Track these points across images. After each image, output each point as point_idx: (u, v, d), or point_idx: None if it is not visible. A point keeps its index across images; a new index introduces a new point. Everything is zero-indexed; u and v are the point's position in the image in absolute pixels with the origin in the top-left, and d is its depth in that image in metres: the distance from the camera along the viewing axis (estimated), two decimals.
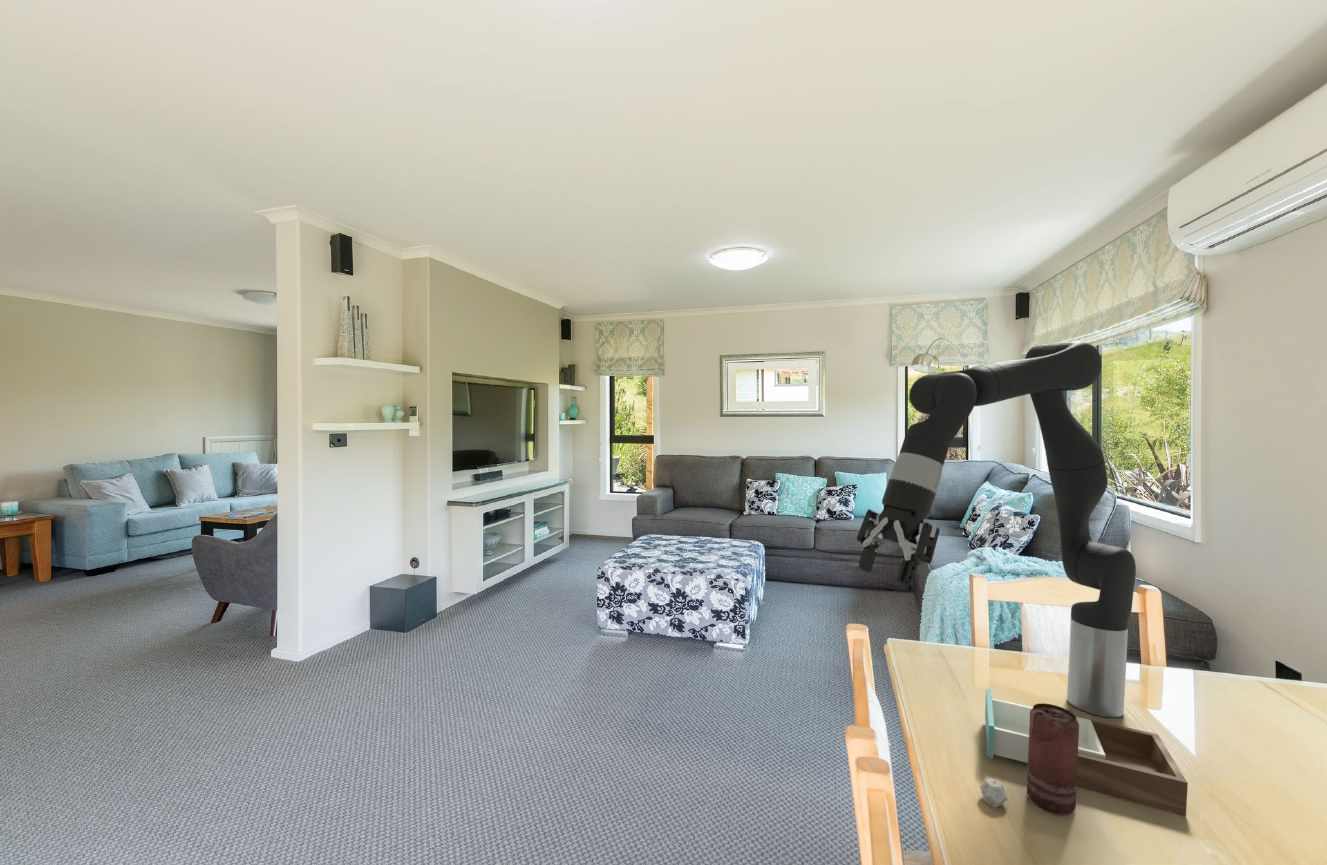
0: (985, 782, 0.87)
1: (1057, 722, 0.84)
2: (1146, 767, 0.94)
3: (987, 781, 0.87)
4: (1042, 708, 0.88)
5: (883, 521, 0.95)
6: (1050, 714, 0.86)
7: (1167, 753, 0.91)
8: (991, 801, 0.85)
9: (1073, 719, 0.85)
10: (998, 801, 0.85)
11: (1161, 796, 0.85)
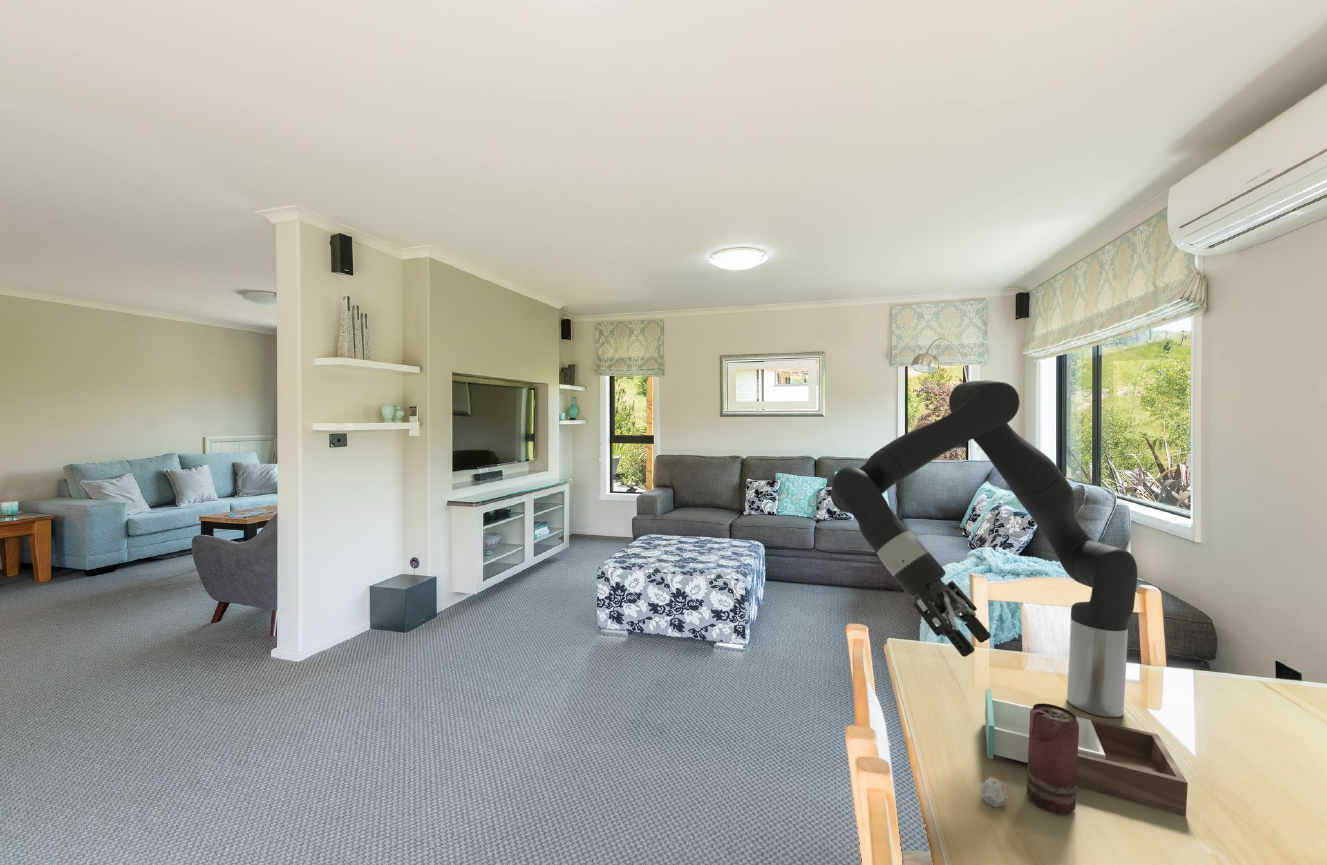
0: (985, 782, 0.87)
1: (1057, 722, 0.84)
2: (1146, 767, 0.94)
3: (987, 781, 0.87)
4: (1042, 708, 0.88)
5: None
6: (1050, 714, 0.86)
7: (1167, 753, 0.91)
8: (991, 801, 0.85)
9: (1073, 719, 0.85)
10: (998, 801, 0.85)
11: (1161, 796, 0.85)
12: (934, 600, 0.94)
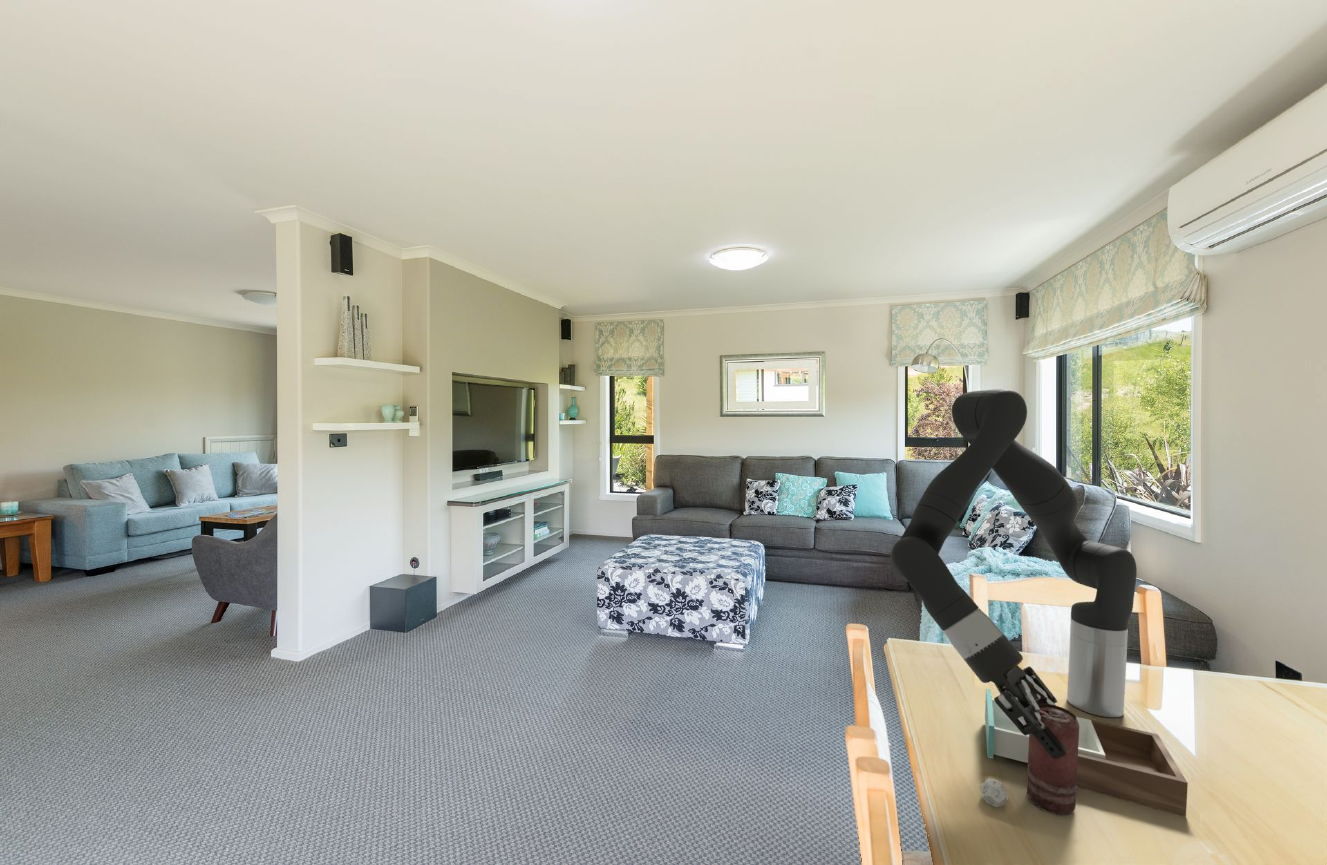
0: (985, 782, 0.87)
1: (1057, 722, 0.84)
2: (1146, 767, 0.94)
3: (987, 781, 0.87)
4: (1042, 708, 0.88)
5: None
6: (1050, 714, 0.86)
7: (1167, 753, 0.91)
8: (991, 801, 0.85)
9: (1073, 719, 0.85)
10: (998, 801, 0.85)
11: (1161, 796, 0.85)
12: (1014, 692, 0.86)
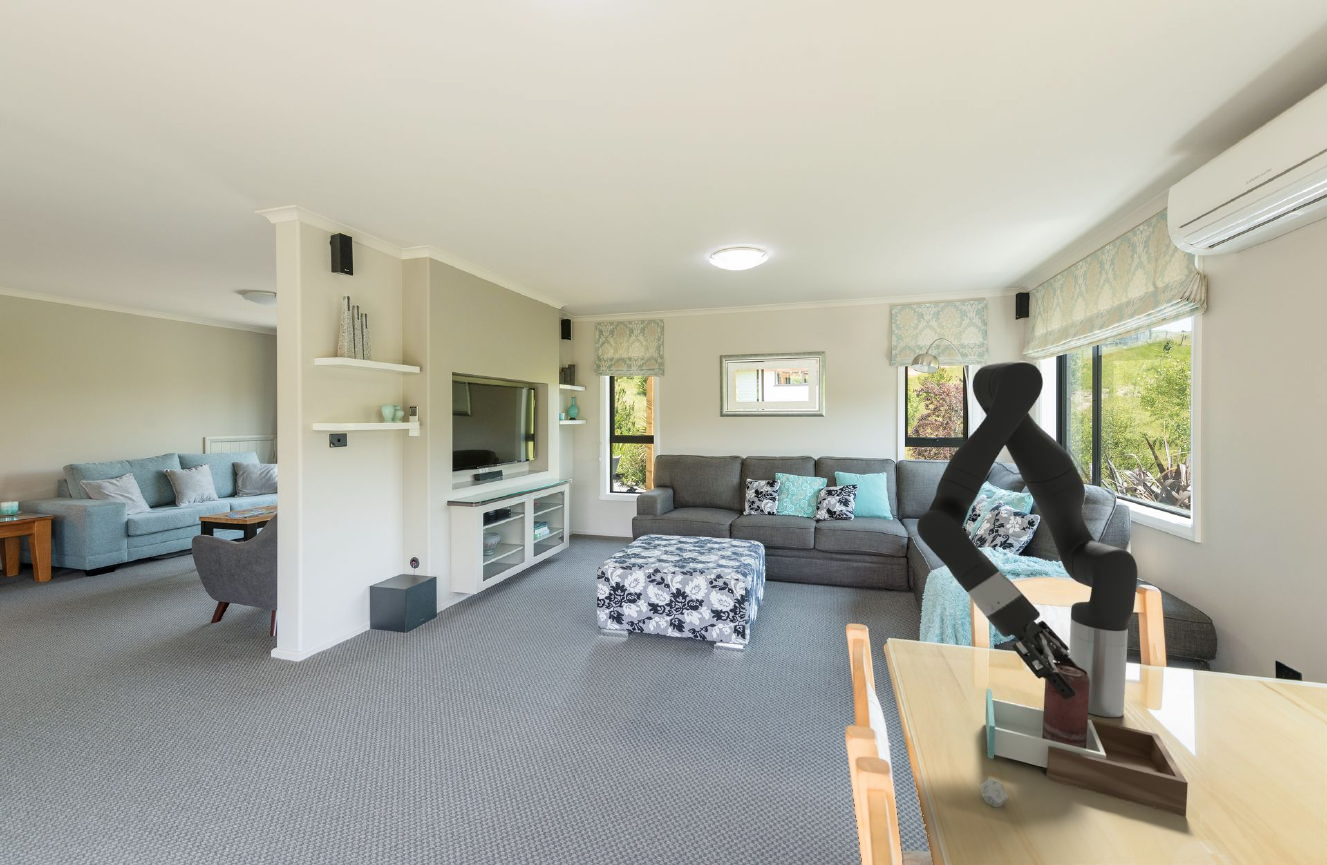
0: (985, 782, 0.87)
1: (1070, 676, 0.94)
2: (1146, 767, 0.94)
3: (987, 781, 0.87)
4: (1056, 666, 0.99)
5: None
6: (1064, 670, 0.97)
7: (1167, 753, 0.91)
8: (991, 801, 0.85)
9: (1084, 674, 0.96)
10: (998, 801, 0.85)
11: (1161, 796, 0.85)
12: (1033, 643, 0.97)
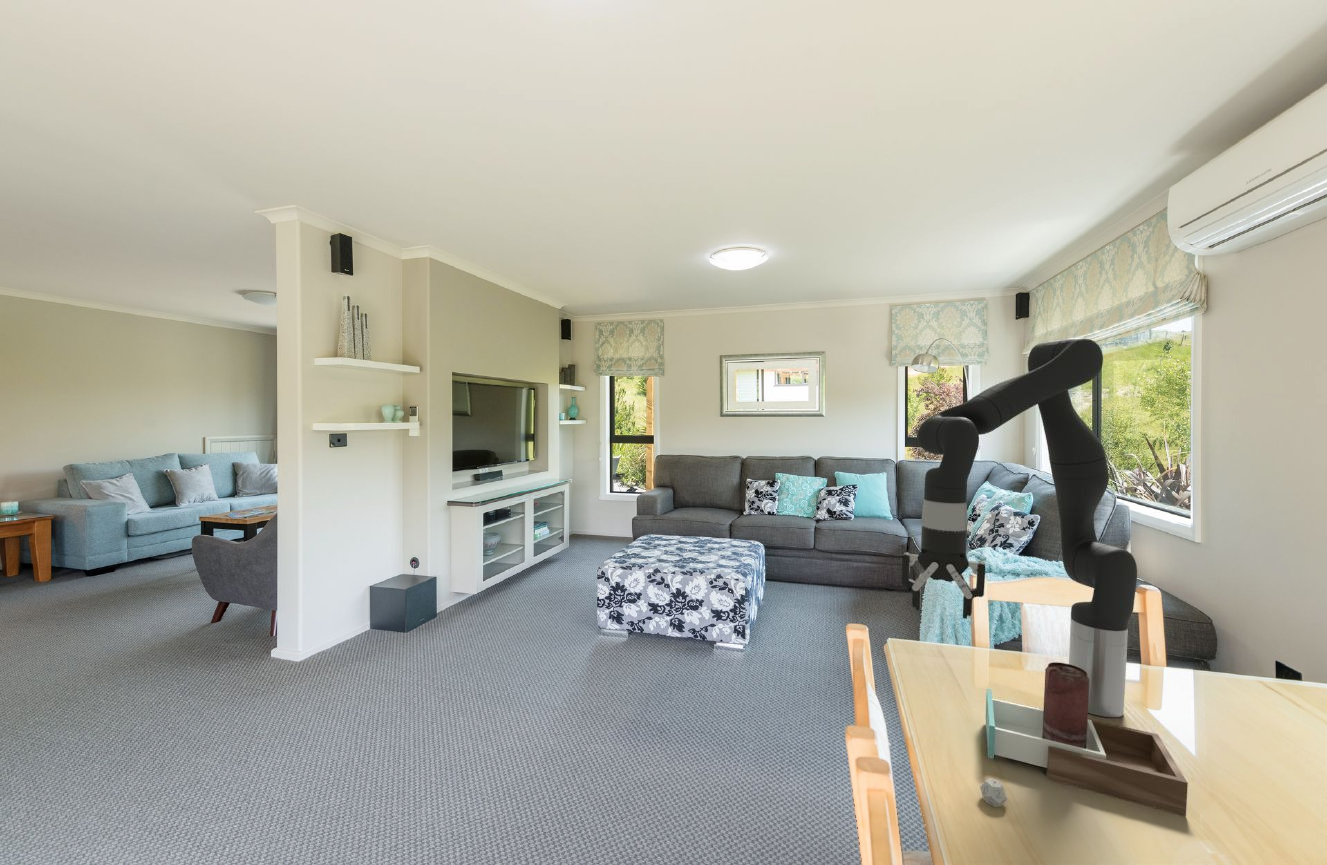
0: (985, 782, 0.87)
1: (1070, 677, 0.94)
2: (1146, 767, 0.94)
3: (987, 781, 0.87)
4: (1056, 666, 0.99)
5: (932, 566, 1.04)
6: (1064, 670, 0.97)
7: (1167, 753, 0.91)
8: (991, 801, 0.85)
9: (1084, 674, 0.96)
10: (999, 801, 0.85)
11: (1161, 796, 0.85)
12: None
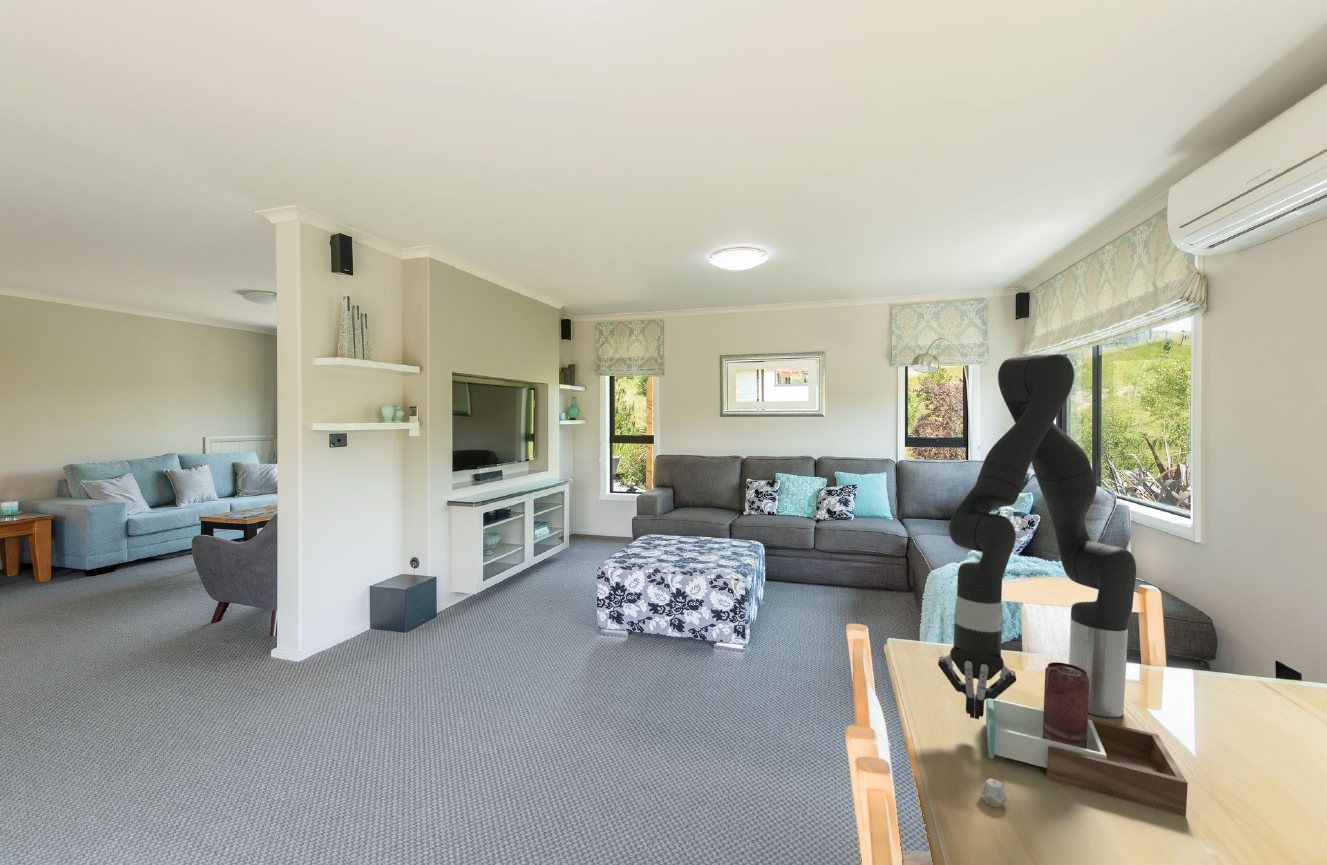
0: (985, 782, 0.87)
1: (1070, 677, 0.94)
2: (1146, 767, 0.94)
3: (987, 781, 0.87)
4: (1056, 666, 0.99)
5: (967, 665, 1.02)
6: (1063, 670, 0.97)
7: (1167, 753, 0.91)
8: (992, 801, 0.85)
9: (1084, 674, 0.96)
10: (999, 801, 0.85)
11: (1161, 796, 0.85)
12: None
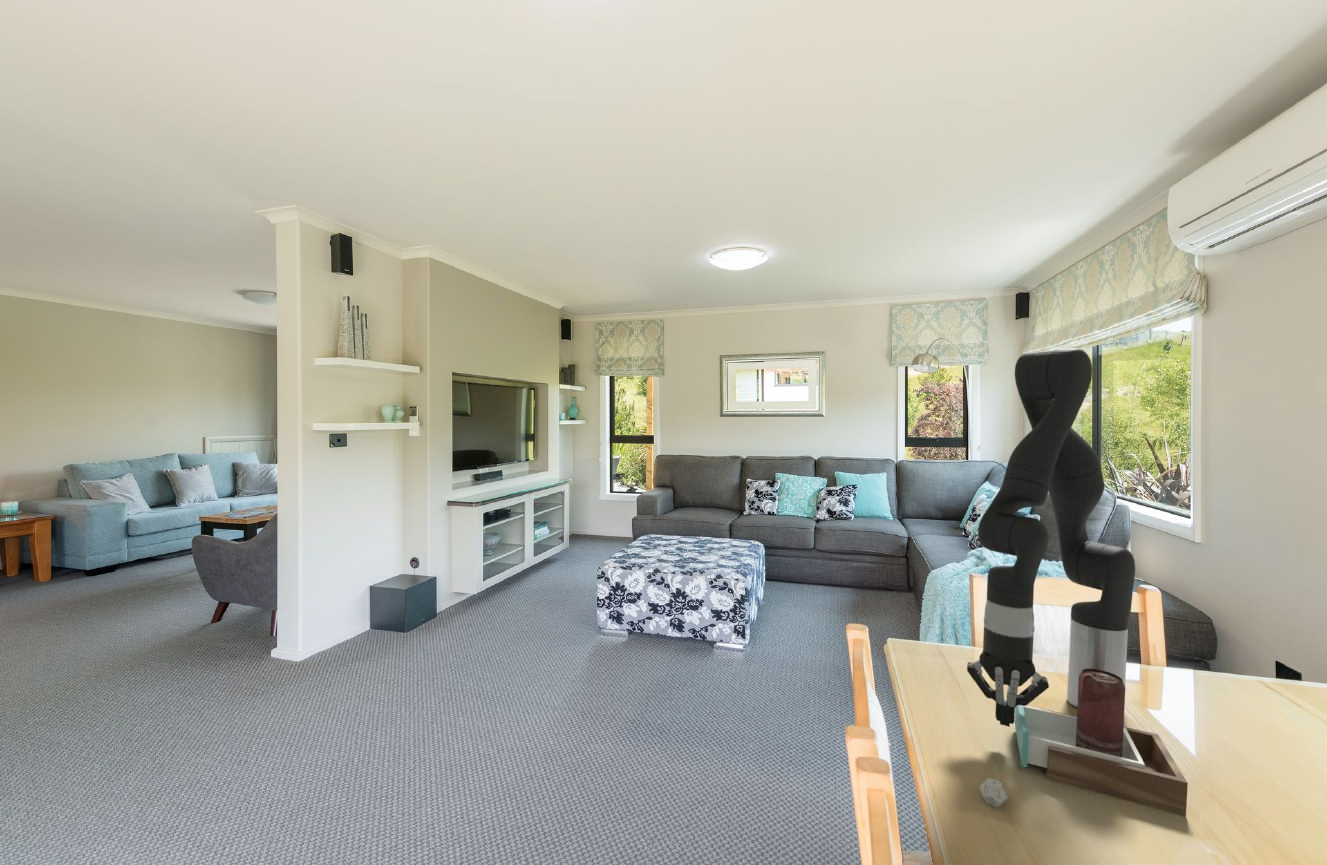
0: (985, 782, 0.87)
1: (1106, 683, 0.92)
2: (1146, 767, 0.94)
3: (987, 781, 0.87)
4: (1090, 672, 0.96)
5: (998, 671, 1.00)
6: (1098, 677, 0.95)
7: (1167, 753, 0.91)
8: (992, 801, 0.85)
9: (1119, 681, 0.93)
10: (999, 801, 0.85)
11: (1161, 796, 0.85)
12: None
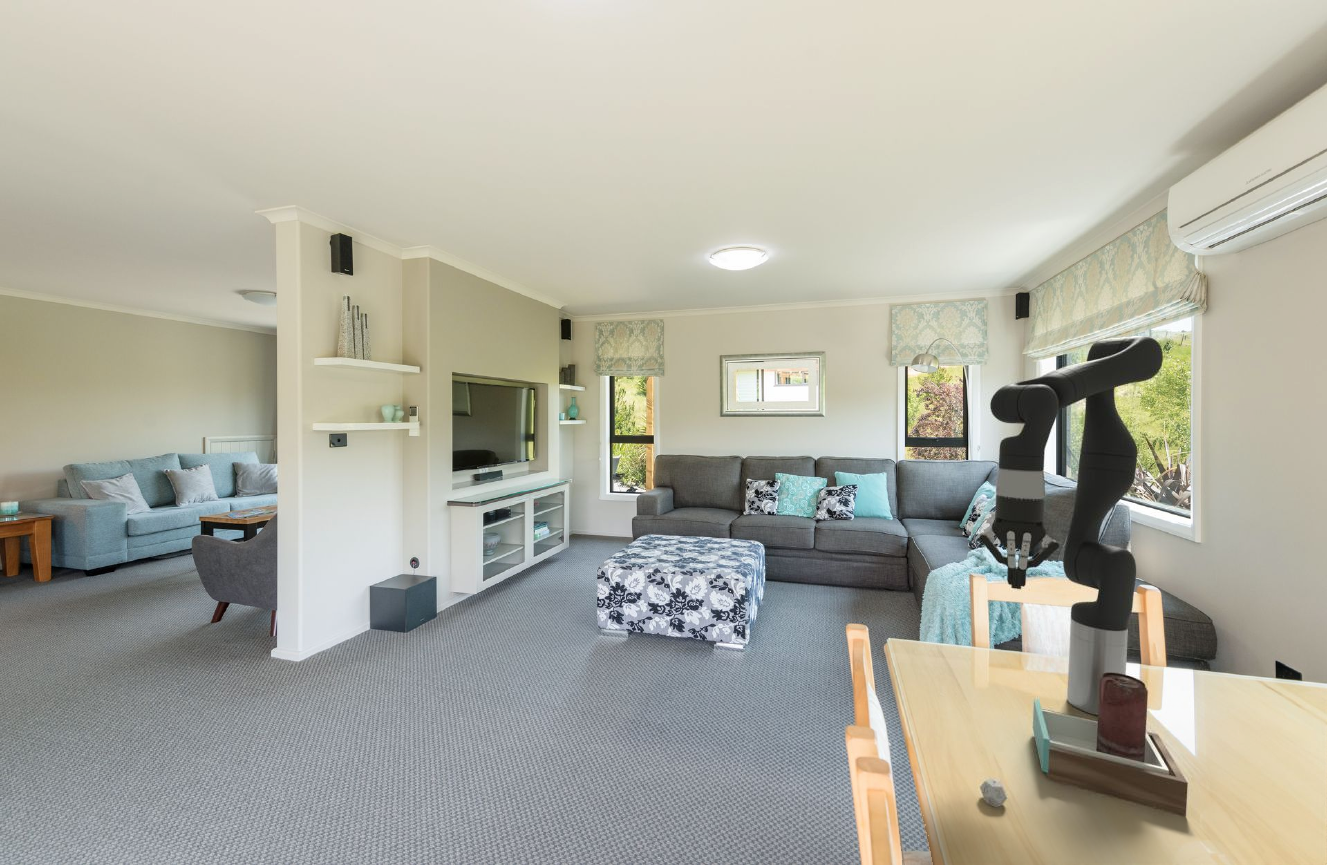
0: (985, 782, 0.87)
1: (1128, 688, 0.91)
2: None
3: (987, 781, 0.87)
4: (1111, 676, 0.95)
5: (1010, 536, 1.04)
6: (1120, 681, 0.93)
7: (1167, 753, 0.91)
8: (992, 801, 0.85)
9: (1142, 685, 0.92)
10: (999, 801, 0.85)
11: (1161, 796, 0.85)
12: None
